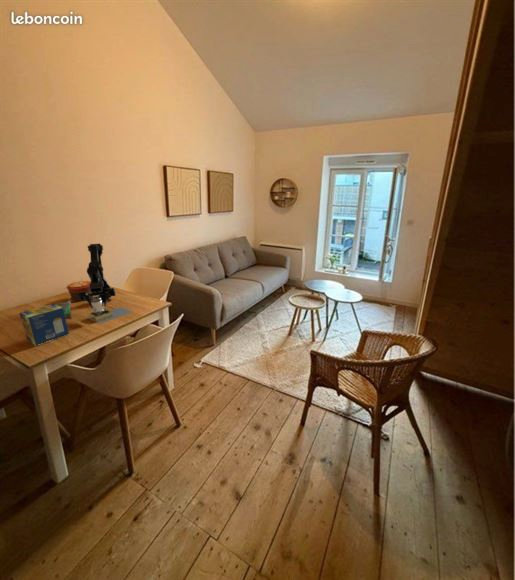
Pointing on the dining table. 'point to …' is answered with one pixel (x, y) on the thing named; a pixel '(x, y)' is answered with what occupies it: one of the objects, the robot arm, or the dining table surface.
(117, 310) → the board
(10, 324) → the dining table surface
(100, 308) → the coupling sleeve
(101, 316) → the tan square tray
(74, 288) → the food container
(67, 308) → the food container
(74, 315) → the dining table surface
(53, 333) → the protein box
